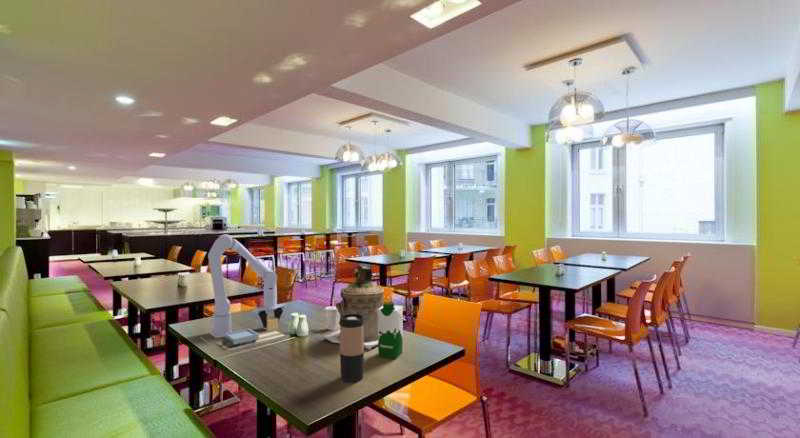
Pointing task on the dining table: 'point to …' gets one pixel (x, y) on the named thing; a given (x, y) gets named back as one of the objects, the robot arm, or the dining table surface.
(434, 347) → the dining table surface
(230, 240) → the robot arm
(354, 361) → the travel mug
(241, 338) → the blue square tray
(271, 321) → the ochre block
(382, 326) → the milk carton
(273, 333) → the track
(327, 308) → the smoothie
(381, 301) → the cookie jar
